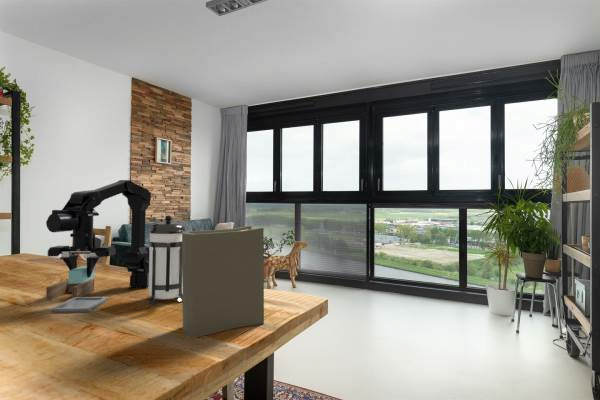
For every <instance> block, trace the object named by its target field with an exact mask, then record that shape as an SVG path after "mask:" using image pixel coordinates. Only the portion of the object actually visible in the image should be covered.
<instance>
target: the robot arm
mask: <svg viewBox="0 0 600 400" xmlns="http://www.w3.org/2000/svg"><path fill="white" fill-rule="evenodd" d="M120 194H122V196H123V197H125V198H126V200H127V204H128V206H129V208H130V211H131V229H130V230H131V232H130V233H131V234H130V235H131V236H130V248H129V249H128V250H127V251H124V260H123V262H124V264H125V266H126V269H127V272H128V273H130V272H131V273H130V275H129V287H128V288H129V289H137V290H138V289H141V290H142V289H145V290H146V289H147V288H149V252H148V251H149V250H148V249H147V248H146V244H145V243H146V211H147V210H148V208H149V206H150V205H151V198H152V193H151V191H150V190H149V189H148V188H145V187H143V186H141V185H140V184H139V185H138V184H137V183H135V182H133V181H132V180H129V179H119V180H117V181H116V182H112V183H110V184H107V185H104V186H102V187H99V188H96V189H92V190H89V189H88V190H82V191H81V190H80V191H74V192H72V193H71V194H70V197H69V199H68V200H67V202H66V204H65V205H64V206H63V208H62V209H52V210H51V214H49V216H48V217H47V219H46V220H45V223H46V228H47V230H48V231H49V232H50V233H63V232H72V233H70V235H69V236H70V238H72V245H71V246H70V245H56V246H52V247H51V246H50V247H49V248H48V249H47V257H59V256H60V255H61V256H60V257H59V260H63V262H64V263H65V265H66V266H67V268H68V271H70V270H72V269H75V268H78V258H79V255H89V256H88V257H86V266H87V276H88V277H91V274H92V272H93V269H94V270H95V267H96V264H97V262H98V261H99V260H100V259H101V258H103V257H110V256H114V255H116V253H117V252H116V250H117V249H116V247H115V246H114V245H102V239H100V238H99V237H96V231H94V217H98V216H99V215H100V213H99V212H98V211H96V210H95V209H96V208H97V207H99V206H100V205H101V204H102V202H103V201H104V200H107V199H110V198H112V197H116V196H117V195H120Z"/></svg>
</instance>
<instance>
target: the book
mask: <svg viewBox="0 0 600 400" xmlns="http://www.w3.org/2000/svg"><path fill="white" fill-rule="evenodd" d="M264 235H265V233H264V227H258V228H252V225H247V226H245V225H244V226H241V227H240V226H239V227H234V228H226V229H225V228H223V229H209V230H208V229H206V230H192V231H191V230H189V231H188V230H187V231H185V232H182V290H183V294H182V295H183V302H182V332H183V333H184V335H185V336H187V337H189V338H190V339H195V338H200V337H203V336H208V335H211V334H215V333H220V332H223V331H228V330H233V329H237V328H241V327H247V326H256V325H264V324H265V289H264V288H265V284H264V283H265V281H264V280H265V268H264V267H265V265H264V263H265V261H264V257H265V256H264V254H265V253H264V250H265V247H264V246H265V245H264V243H265V242H264V241H265V240H264V239H265V238H264V237H265V236H264Z"/></svg>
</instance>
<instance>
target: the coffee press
mask: <svg viewBox="0 0 600 400" xmlns="http://www.w3.org/2000/svg"><path fill="white" fill-rule="evenodd" d="M164 219H165V222H157V223H154V224H152V225H151V226H150V229H148V234H149V240H148V246H149V249H148V251H149V252H148V253H149V287H148V295H149V297H150V298H149V301H148V304H149V305H155V304H156V302H157V301H158V300H171V299H176V300H177V302H179V303H183V290H182V232H185V231H188V230H187V229H186V228H187V227H186V226H185V225H184V224H183V223H180V222H171V221H172V219H173V218H172V216H171V215H166V216H165V217H164Z"/></svg>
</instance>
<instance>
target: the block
mask: <svg viewBox="0 0 600 400" xmlns="http://www.w3.org/2000/svg"><path fill="white" fill-rule="evenodd" d="M68 279H69V280H68V283H84V282H86V281H88V280H90V279H95V268H94V269H93V272H92V274H91V277H88V276H87V265H81V266H77V268H75V269H72V270H68Z"/></svg>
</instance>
